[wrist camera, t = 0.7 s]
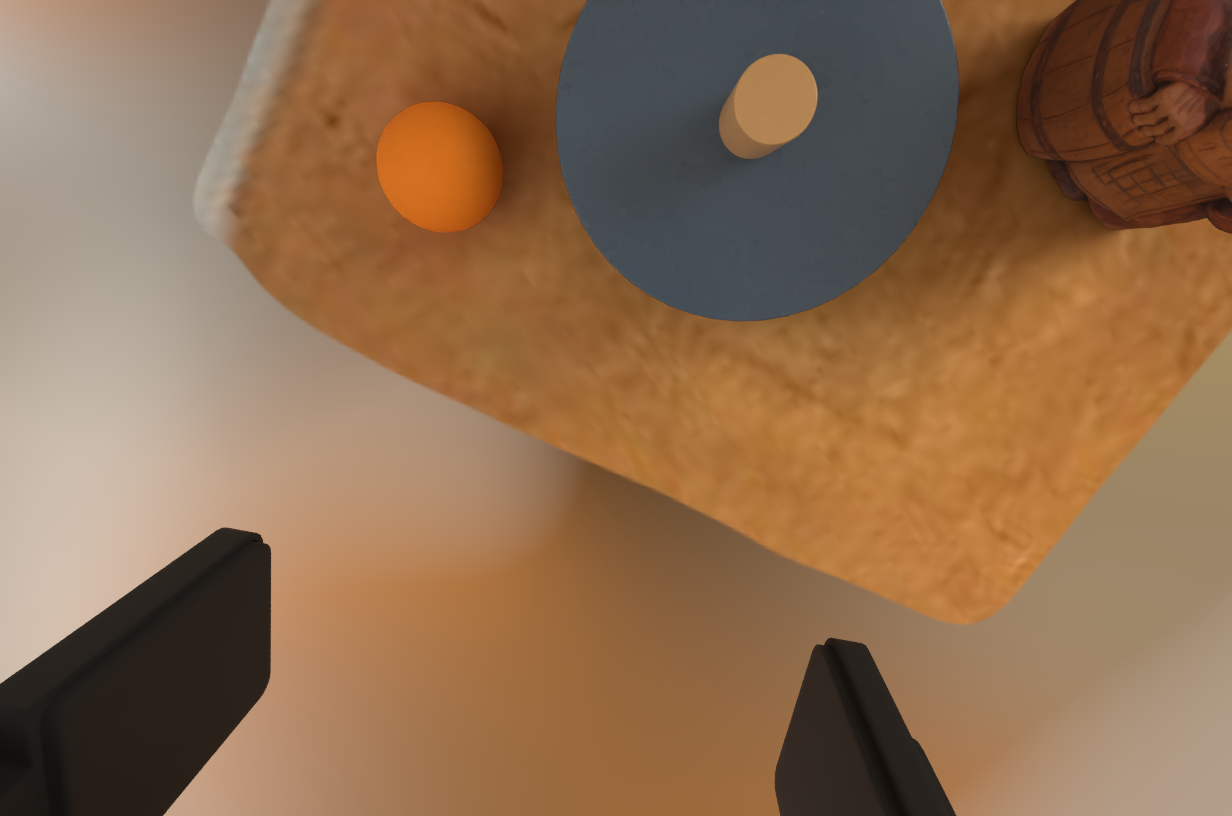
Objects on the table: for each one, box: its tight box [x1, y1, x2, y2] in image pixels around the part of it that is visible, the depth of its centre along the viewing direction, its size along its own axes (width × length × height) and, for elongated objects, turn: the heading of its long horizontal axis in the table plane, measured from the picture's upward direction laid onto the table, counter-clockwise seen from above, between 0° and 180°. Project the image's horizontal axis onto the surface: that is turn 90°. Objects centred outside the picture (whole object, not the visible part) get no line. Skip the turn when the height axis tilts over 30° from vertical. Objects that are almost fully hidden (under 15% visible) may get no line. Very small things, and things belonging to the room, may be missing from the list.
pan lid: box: [556, 0, 959, 321], centre depth 24 cm, size 16×16×6 cm
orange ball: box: [376, 102, 503, 232], centre depth 31 cm, size 6×6×6 cm
